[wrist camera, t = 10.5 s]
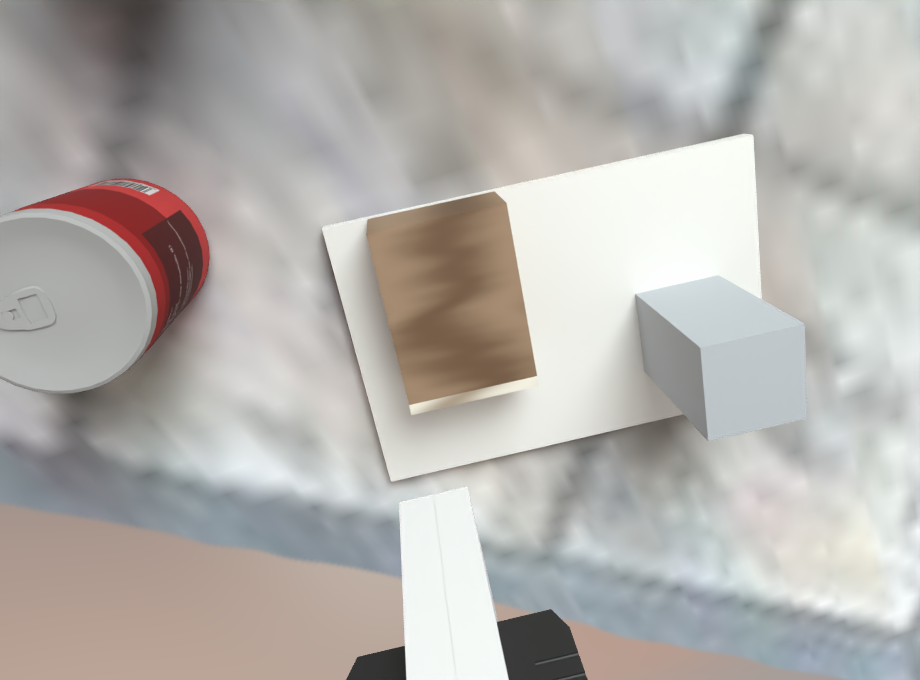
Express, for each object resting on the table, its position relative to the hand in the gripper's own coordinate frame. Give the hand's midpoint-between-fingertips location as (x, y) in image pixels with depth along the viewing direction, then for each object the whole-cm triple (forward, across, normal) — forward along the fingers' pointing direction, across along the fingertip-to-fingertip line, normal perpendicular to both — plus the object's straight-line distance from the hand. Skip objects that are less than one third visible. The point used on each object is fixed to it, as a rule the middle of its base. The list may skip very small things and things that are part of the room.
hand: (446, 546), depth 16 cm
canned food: (+27, -14, +4) cm, 30 cm away
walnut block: (+23, +2, -7) cm, 25 cm away
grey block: (+25, +15, -7) cm, 30 cm away
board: (+26, +8, -5) cm, 28 cm away
